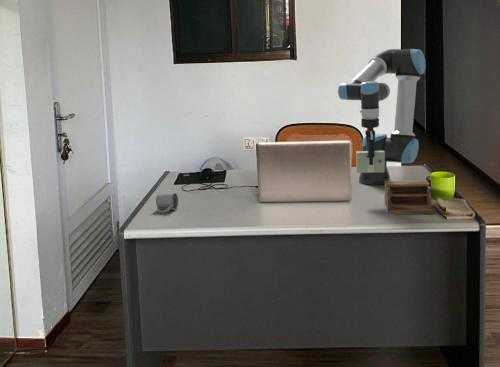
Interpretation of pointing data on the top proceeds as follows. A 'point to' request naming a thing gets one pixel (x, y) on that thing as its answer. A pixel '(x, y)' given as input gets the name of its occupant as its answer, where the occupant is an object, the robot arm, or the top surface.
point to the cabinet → (408, 197)
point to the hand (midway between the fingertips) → (370, 170)
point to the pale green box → (363, 161)
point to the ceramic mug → (166, 202)
